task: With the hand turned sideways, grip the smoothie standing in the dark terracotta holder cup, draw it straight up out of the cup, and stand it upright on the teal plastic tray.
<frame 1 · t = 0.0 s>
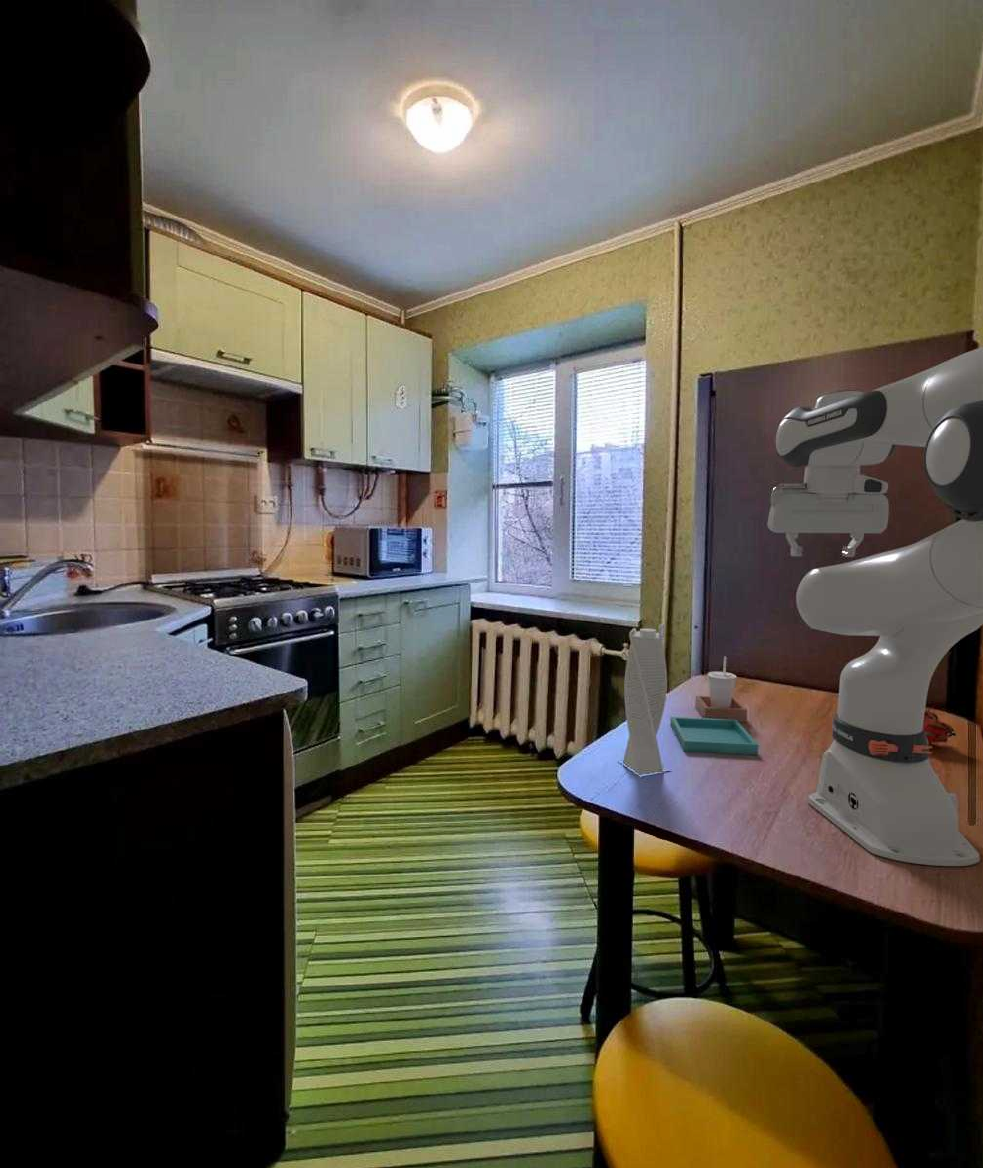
hand: (821, 556, 108), 39 cm above the table, tool pointing down, fingers open, 8 cm apart
tray: (711, 739, 117), on the table
skyscraper: (643, 771, 103), on the table
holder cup: (719, 714, 132), on the table
smoothie: (719, 715, 132), resting in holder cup
dragon fruit: (916, 743, 116), on the table
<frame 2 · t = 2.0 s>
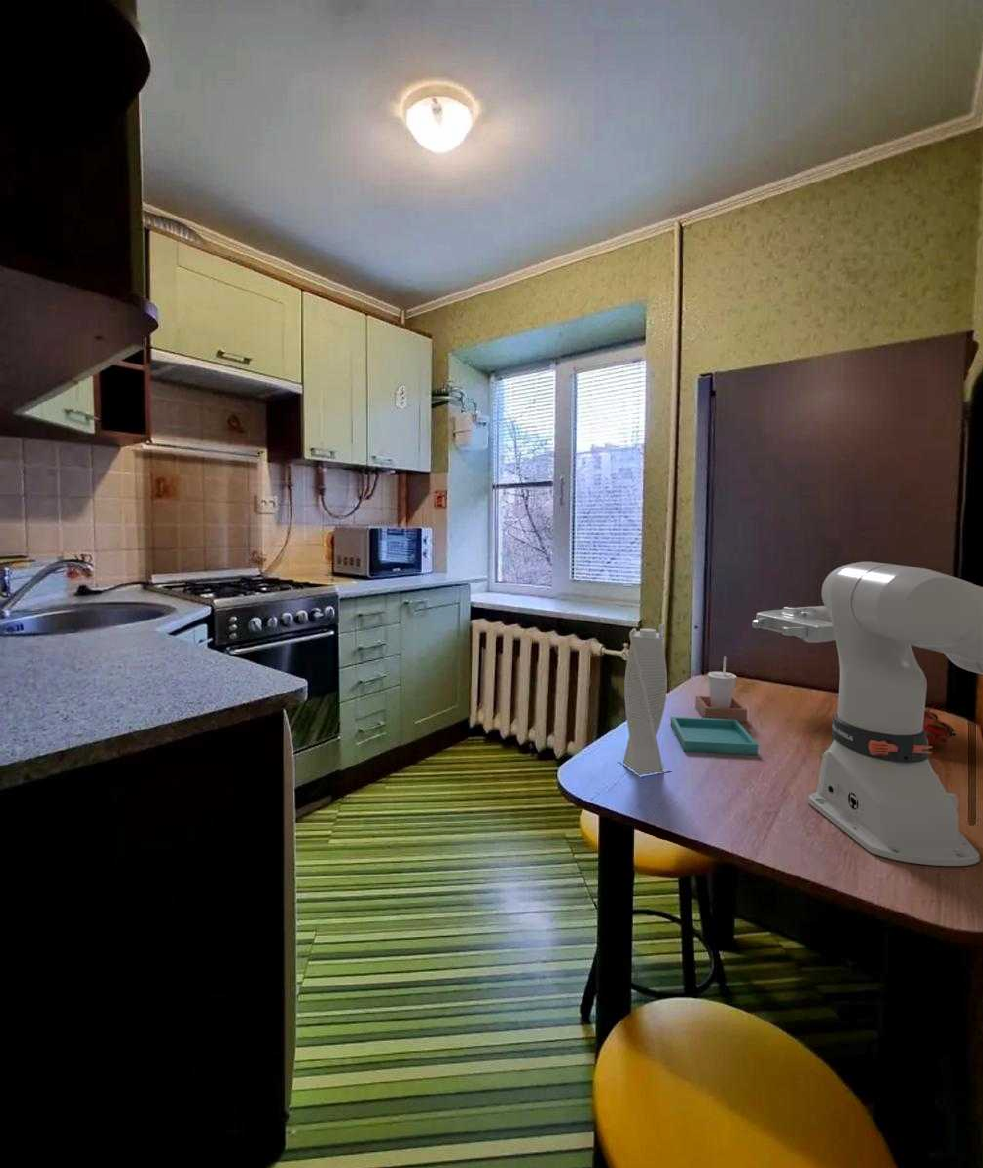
hand: (768, 627, 134), 20 cm above the table, tool horizontal, fingers open, 8 cm apart
nothing on the table moved.
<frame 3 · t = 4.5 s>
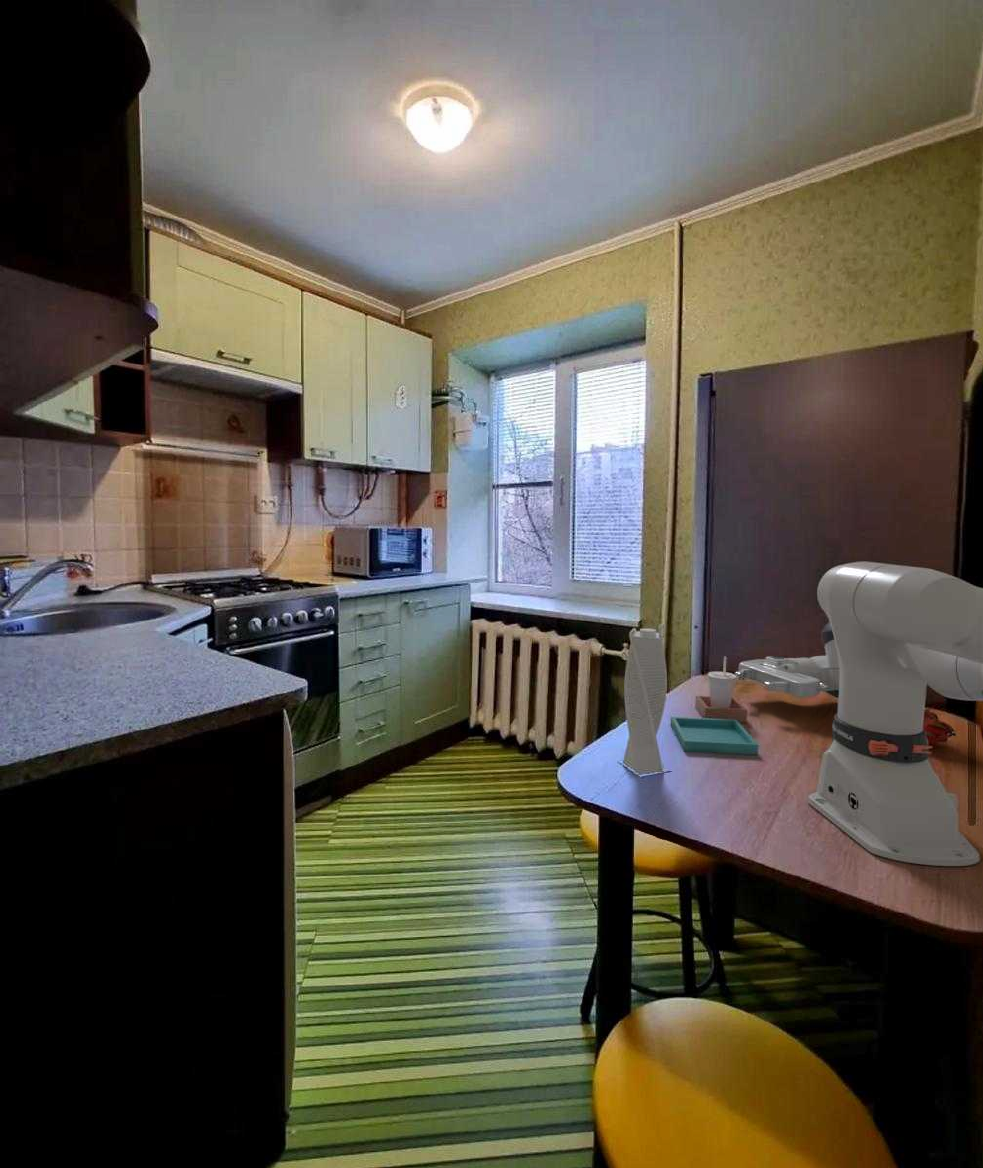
hand: (750, 681, 134), 7 cm above the table, tool horizontal, fingers open, 8 cm apart
nothing on the table moved.
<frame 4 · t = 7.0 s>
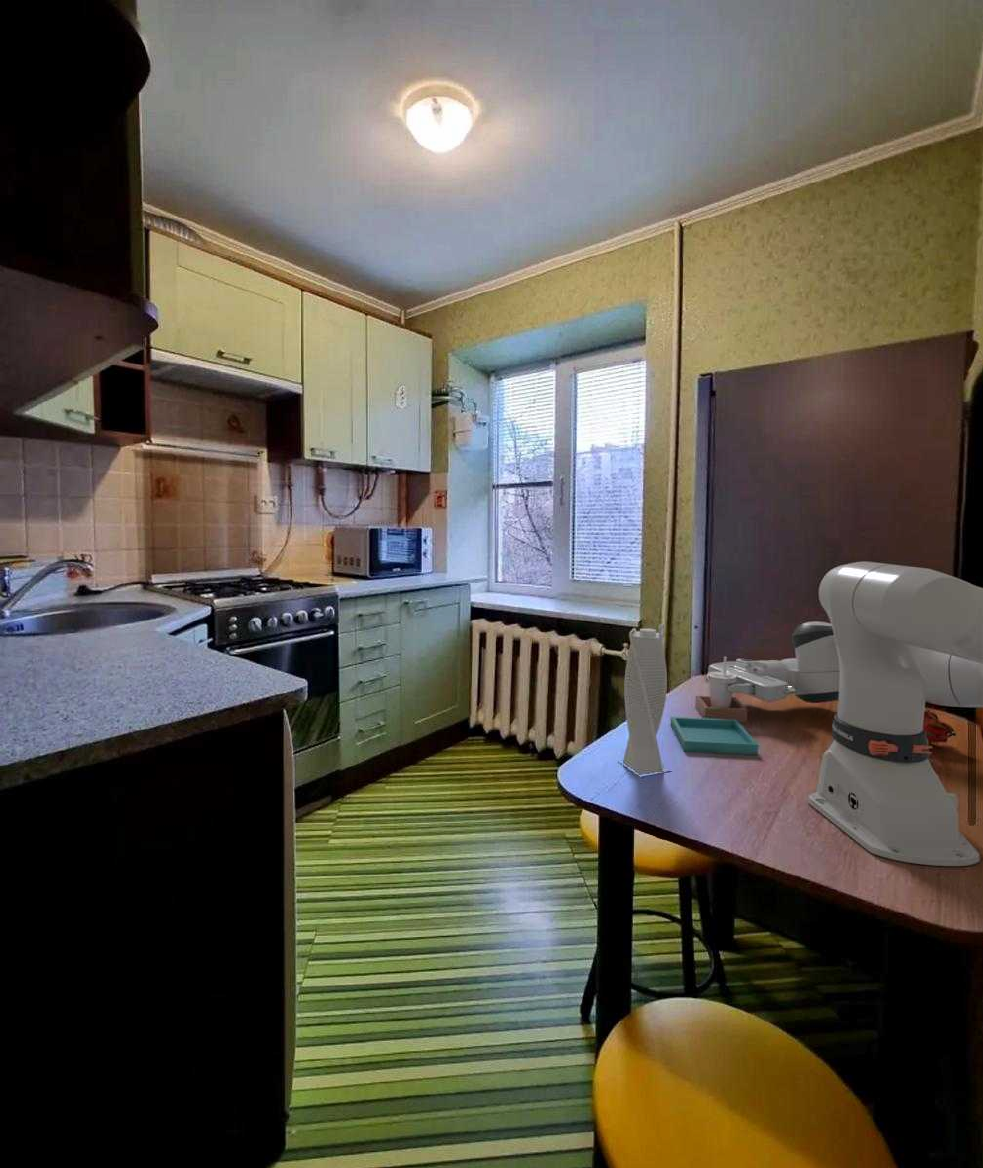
hand: (718, 684, 131), 8 cm above the table, tool horizontal, fingers closed on smoothie, 6 cm apart
smoothie: (719, 715, 132), resting in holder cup, touching gripper
everything else where it was.
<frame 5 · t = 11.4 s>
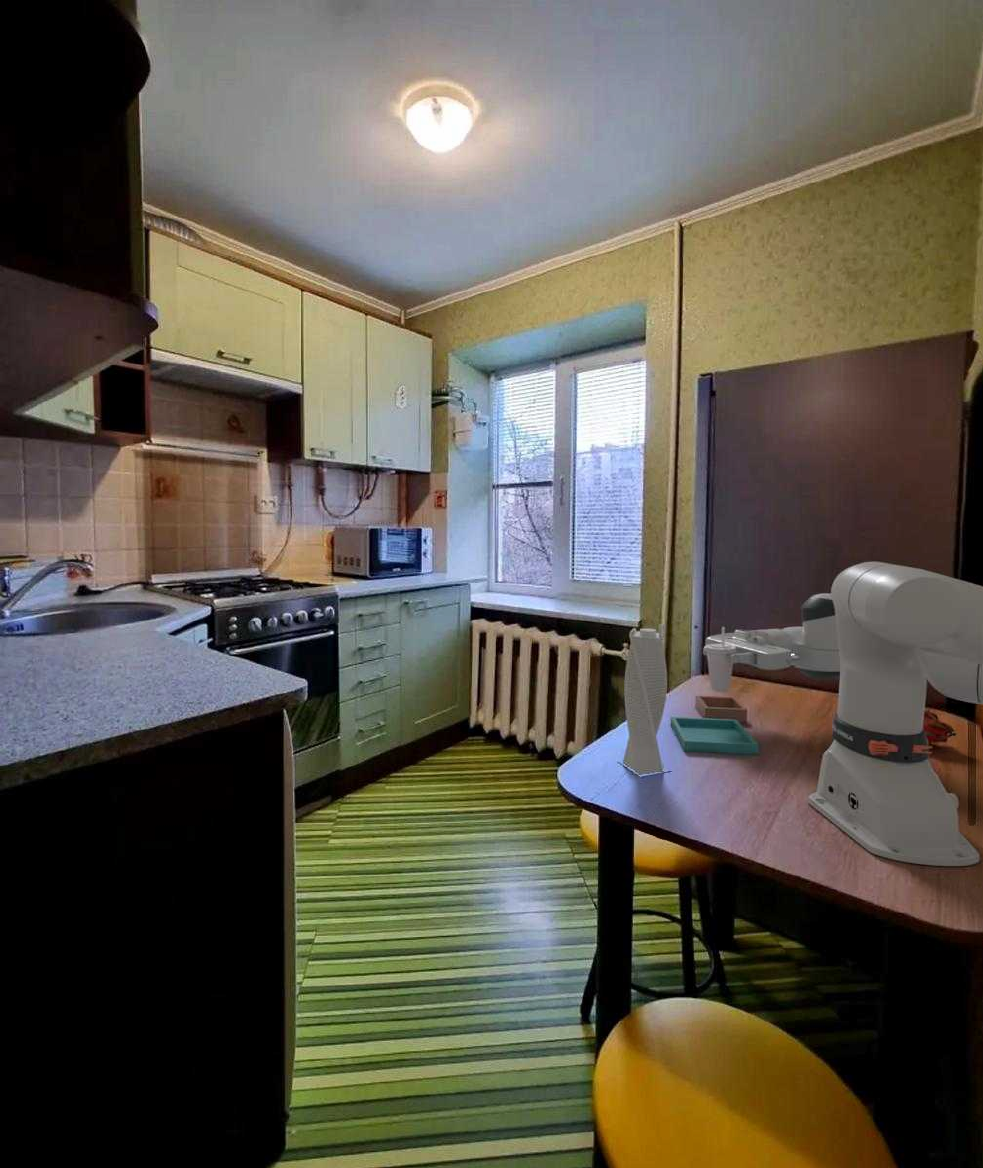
hand: (717, 655, 123), 16 cm above the table, tool horizontal, fingers closed on smoothie, 6 cm apart
smoothie: (719, 690, 124), point 8 cm above the table, touching gripper
everything else where it was.
when the fingers open (10 cm above the table, at t = 15.8 s): smoothie drops 1 cm, resting on tray.
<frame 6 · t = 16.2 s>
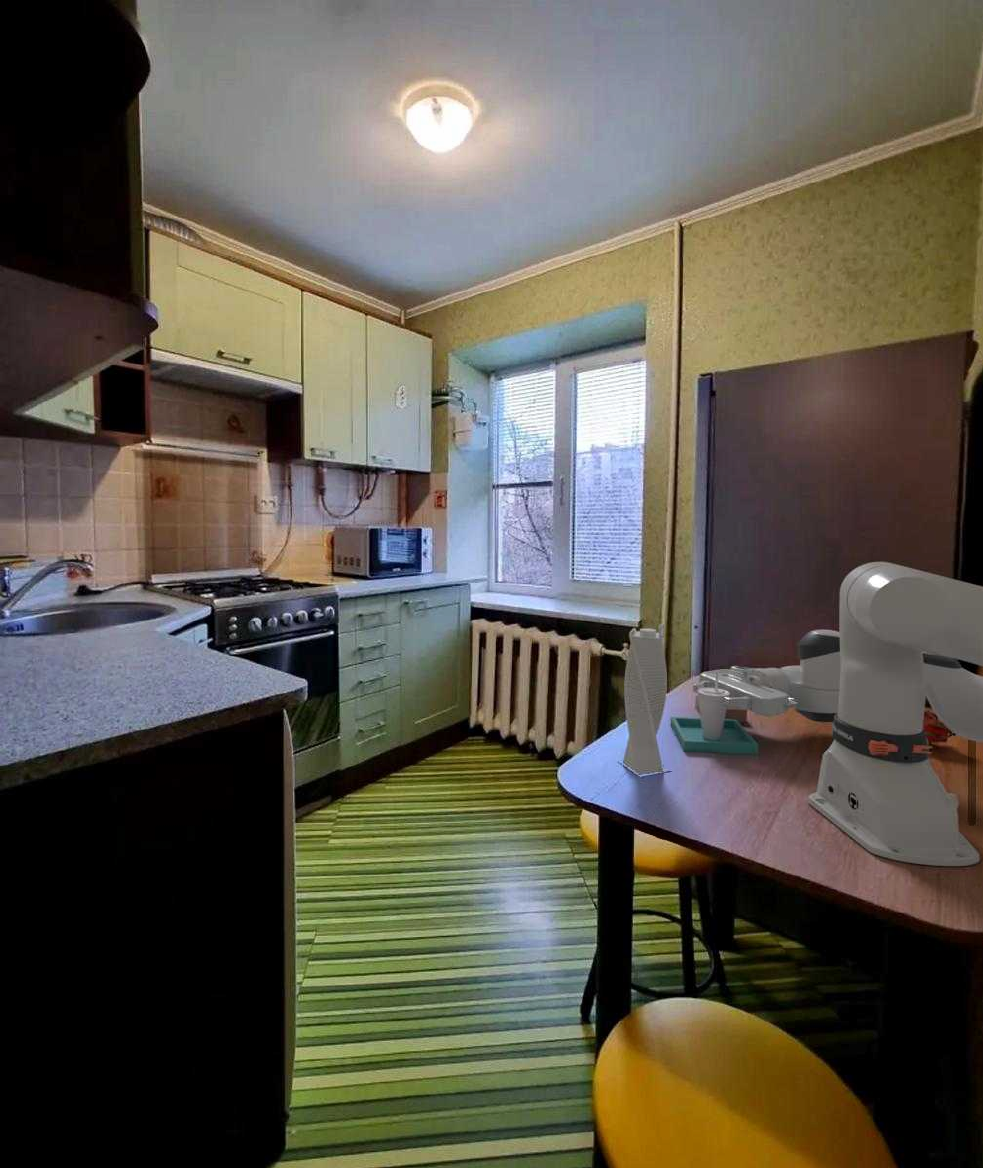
hand: (709, 695, 116), 10 cm above the table, tool horizontal, fingers open, 8 cm apart
smoothie: (711, 737, 117), resting on tray
everything else where it was.
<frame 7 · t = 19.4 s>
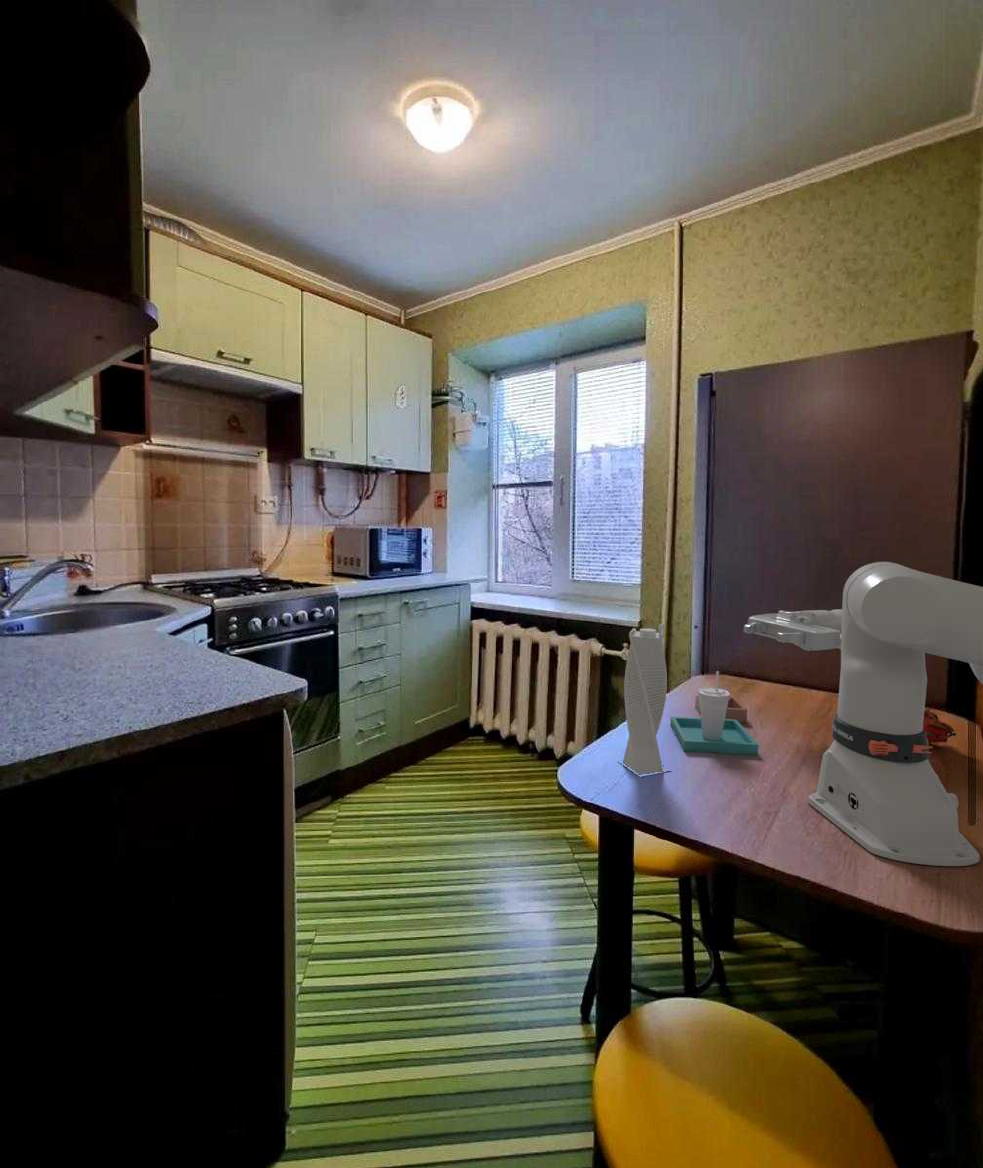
hand: (762, 633, 120), 22 cm above the table, tool horizontal, fingers open, 8 cm apart
nothing on the table moved.
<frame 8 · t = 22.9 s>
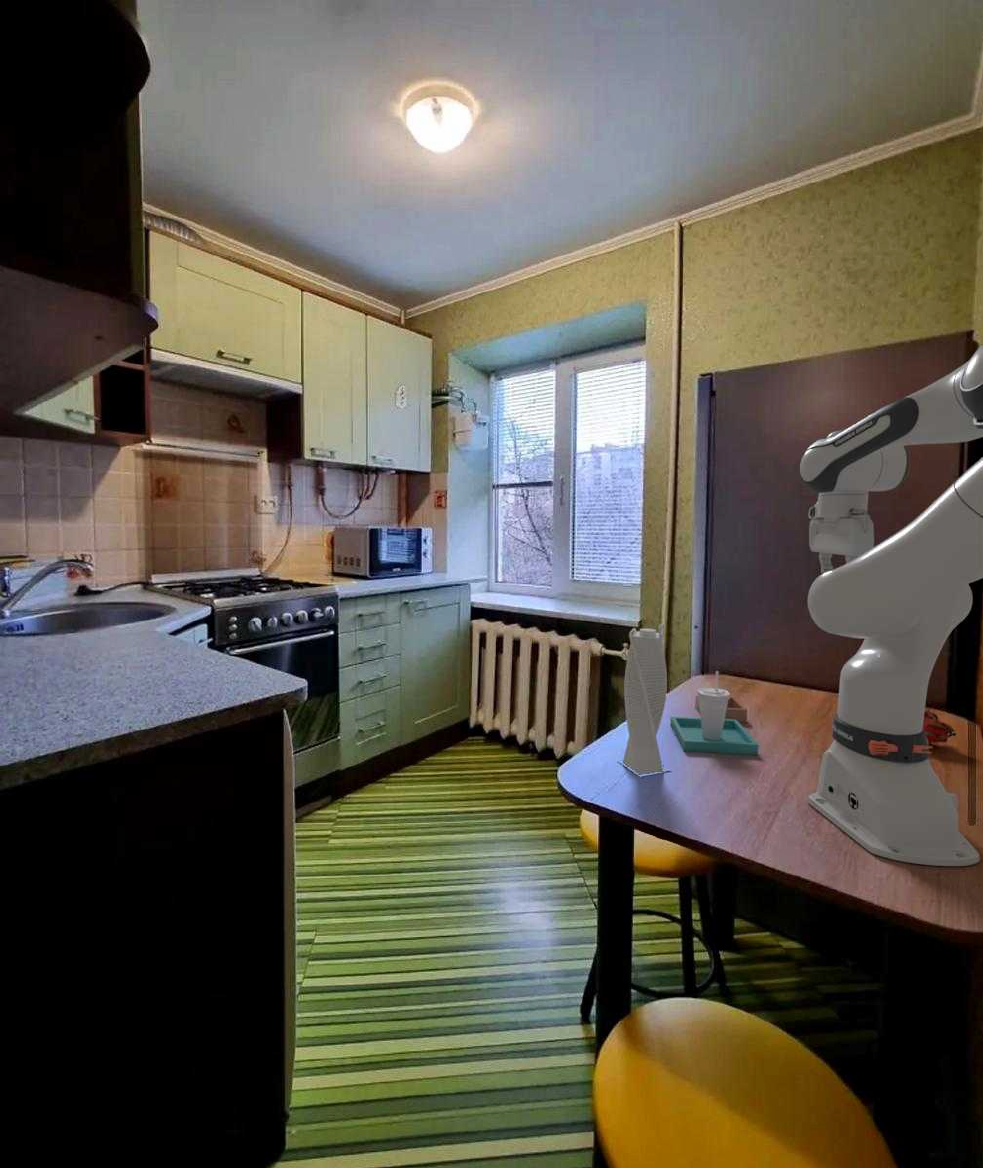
hand: (837, 575, 118), 34 cm above the table, tool pointing down, fingers open, 8 cm apart
nothing on the table moved.
at the end: smoothie inside the target area on the tray (0.0 cm from its centre), point 0.4 cm above the tray's base; smoothie tilted 0°; the gripper is holding nothing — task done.
